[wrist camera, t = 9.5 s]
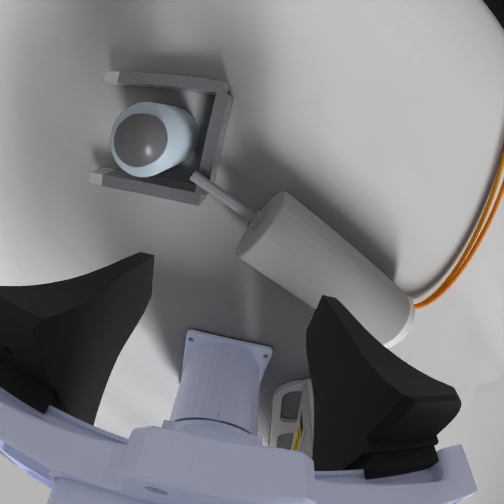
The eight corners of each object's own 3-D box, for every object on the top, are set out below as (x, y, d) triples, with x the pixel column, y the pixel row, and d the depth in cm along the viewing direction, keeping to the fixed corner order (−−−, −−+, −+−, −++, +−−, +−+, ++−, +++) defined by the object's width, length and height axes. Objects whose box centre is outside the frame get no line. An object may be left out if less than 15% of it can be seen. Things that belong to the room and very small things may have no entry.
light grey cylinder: (186, 174, 20) (161, 190, 15) (133, 156, 19) (96, 167, 14) (207, 115, 18) (187, 112, 13) (151, 99, 17) (116, 93, 13)
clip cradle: (210, 198, 20) (204, 207, 18) (103, 177, 20) (88, 182, 18) (236, 87, 17) (232, 82, 15) (119, 75, 16) (105, 71, 14)
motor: (382, 345, 25) (406, 376, 20) (177, 203, 20) (160, 216, 15) (503, 164, 20) (537, 170, 15) (357, -8, 15) (381, -35, 10)
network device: (321, 459, 37) (329, 563, 18) (267, 461, 37) (264, 567, 19) (362, 355, 26) (410, 544, 8) (275, 358, 26) (274, 568, 8)
